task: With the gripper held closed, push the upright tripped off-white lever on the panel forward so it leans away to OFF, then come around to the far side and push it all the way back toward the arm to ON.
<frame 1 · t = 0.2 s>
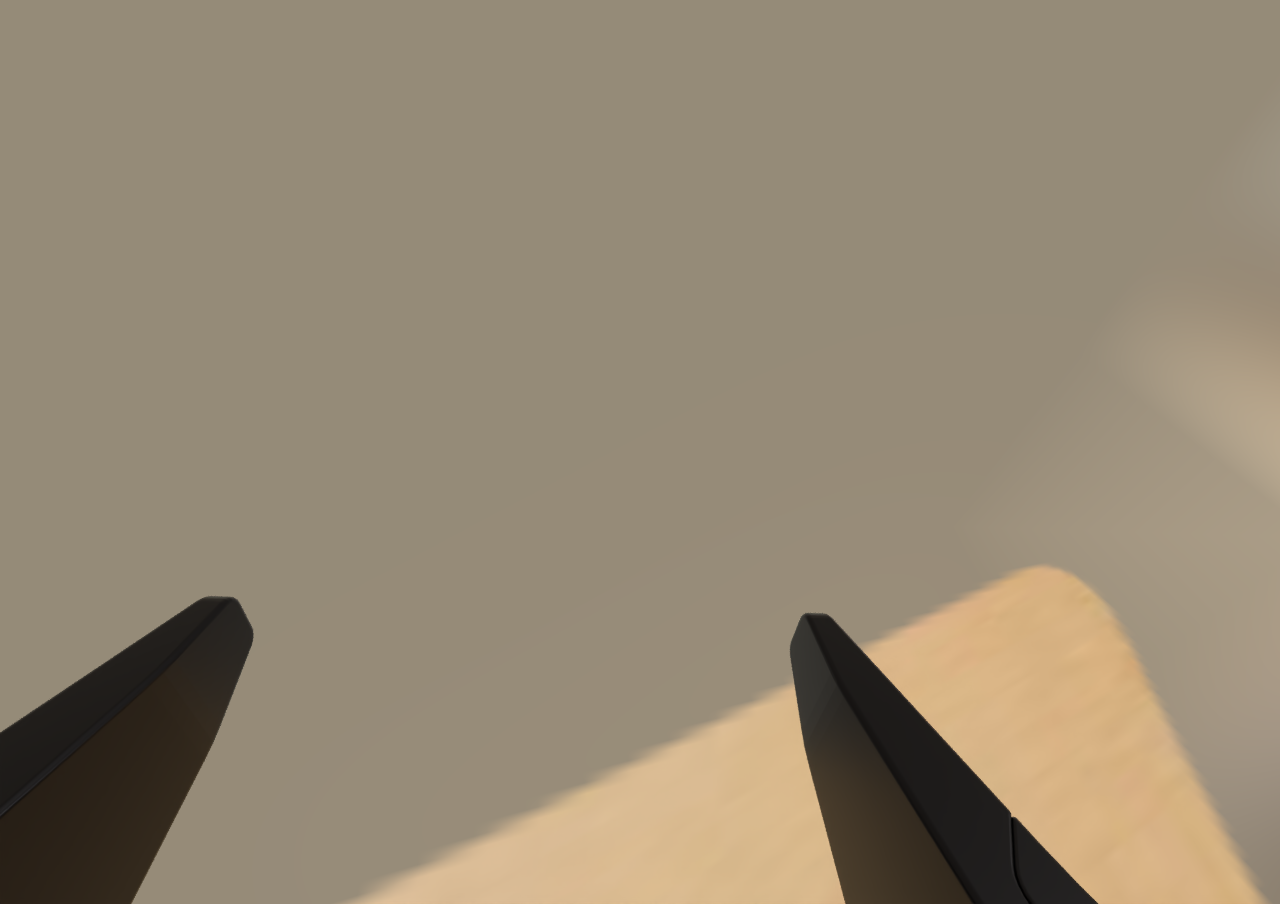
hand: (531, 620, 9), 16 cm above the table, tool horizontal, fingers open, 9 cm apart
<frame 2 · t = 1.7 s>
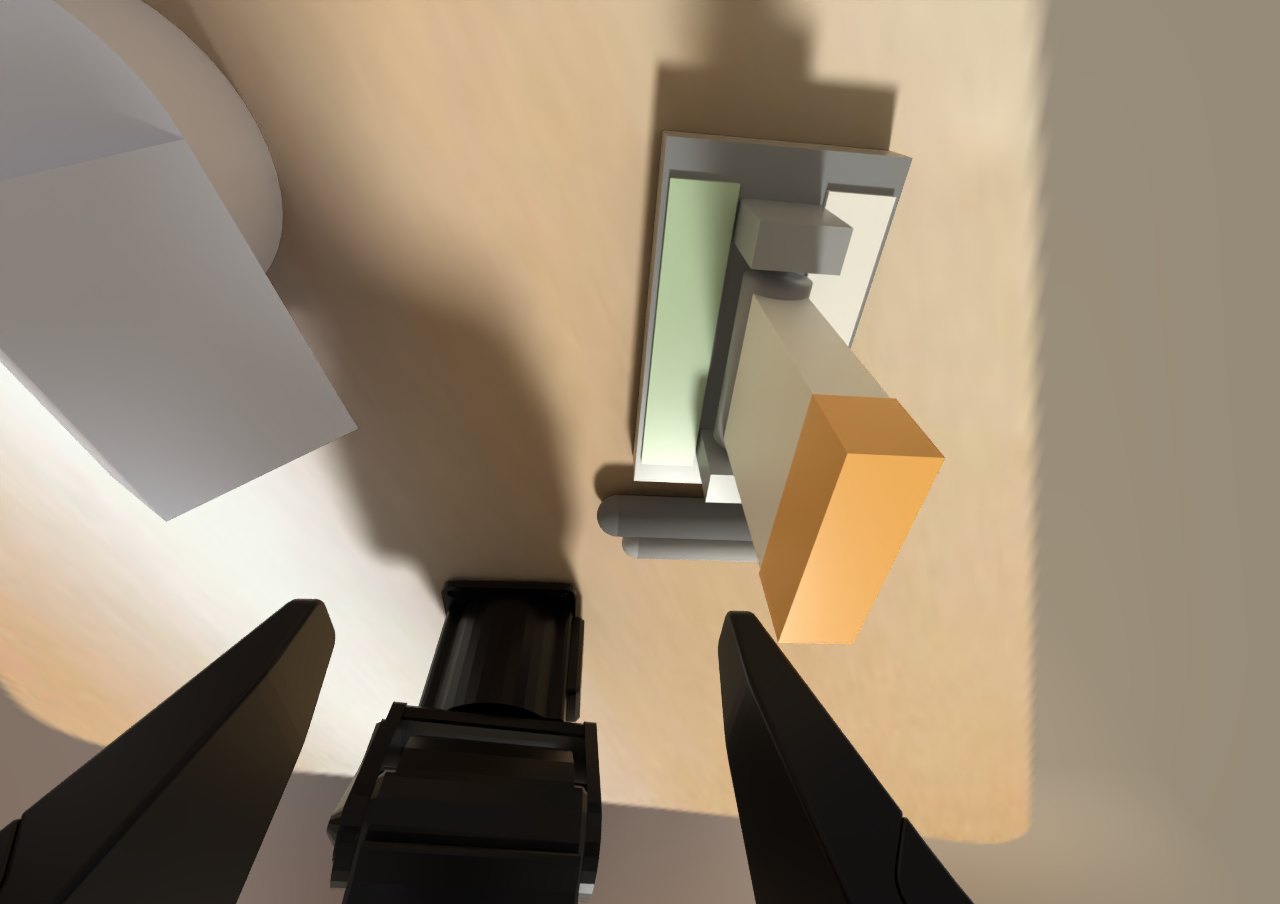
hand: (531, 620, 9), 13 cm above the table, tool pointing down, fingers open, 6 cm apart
lever: (788, 429, 15), point 7 cm above the table, hinge at 0.0°
panel: (740, 328, 20), on the table
grey double capsule: (723, 522, 26), on the table
wedge on round base: (170, 228, 18), on the table
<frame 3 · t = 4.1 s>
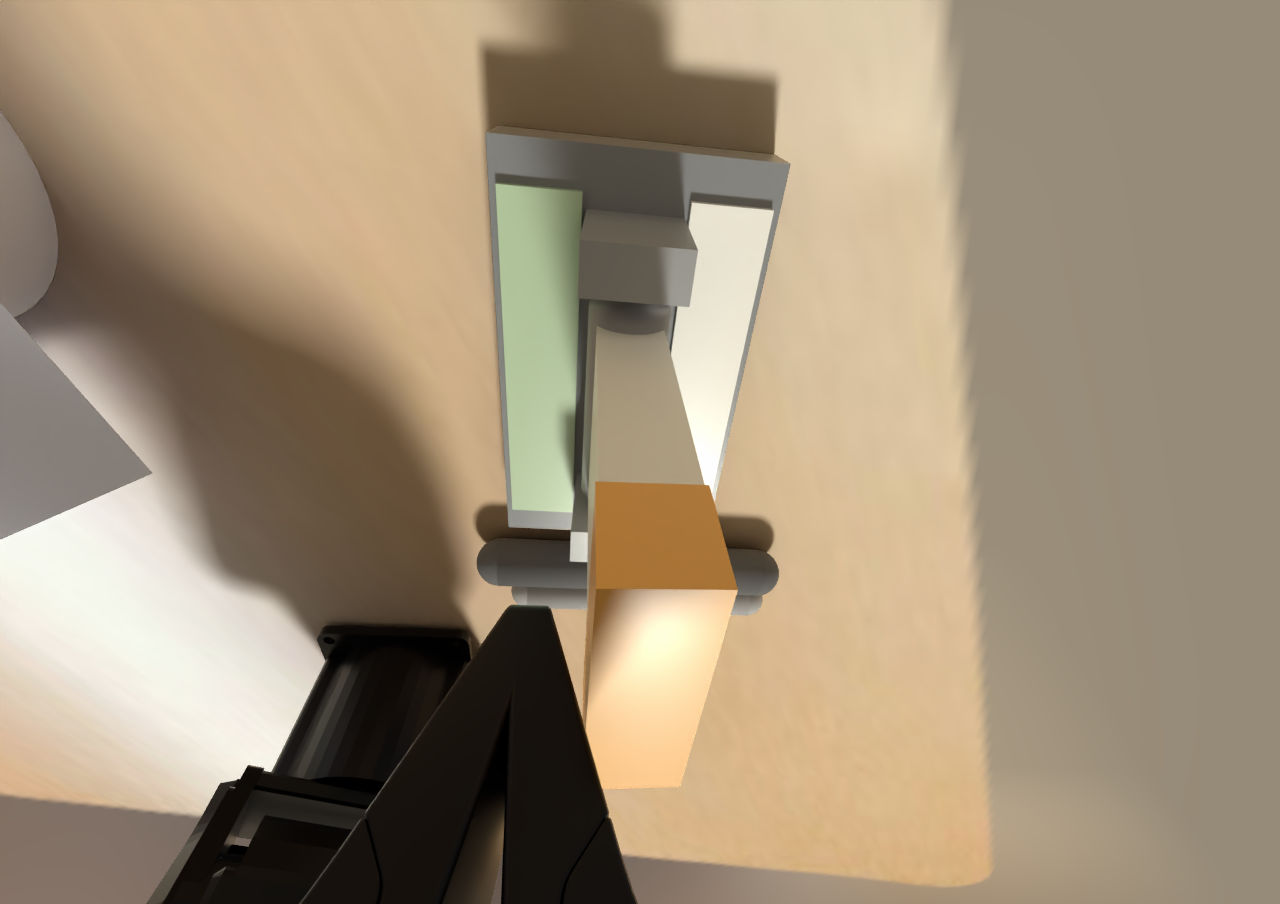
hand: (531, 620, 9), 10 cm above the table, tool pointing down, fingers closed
lever: (629, 495, 12), point 7 cm above the table, hinge at 2.2°, touching gripper
panel: (621, 357, 17), on the table
grey double capsule: (628, 567, 23), on the table
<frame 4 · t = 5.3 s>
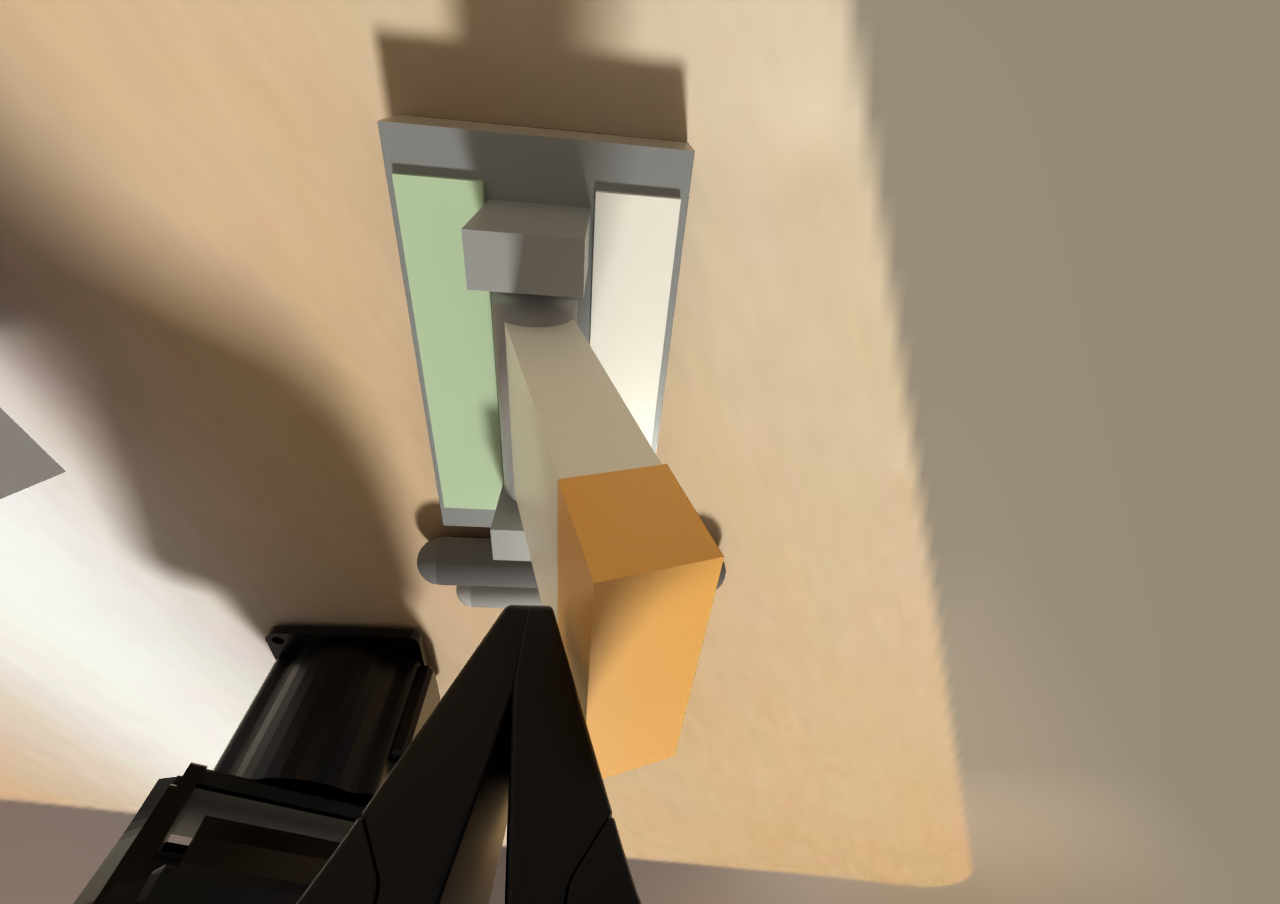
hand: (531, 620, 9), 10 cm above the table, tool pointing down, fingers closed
lever: (569, 489, 12), point 7 cm above the table, hinge at 17.4°, touching gripper
panel: (549, 352, 17), on the table
grey double capsule: (575, 565, 23), on the table
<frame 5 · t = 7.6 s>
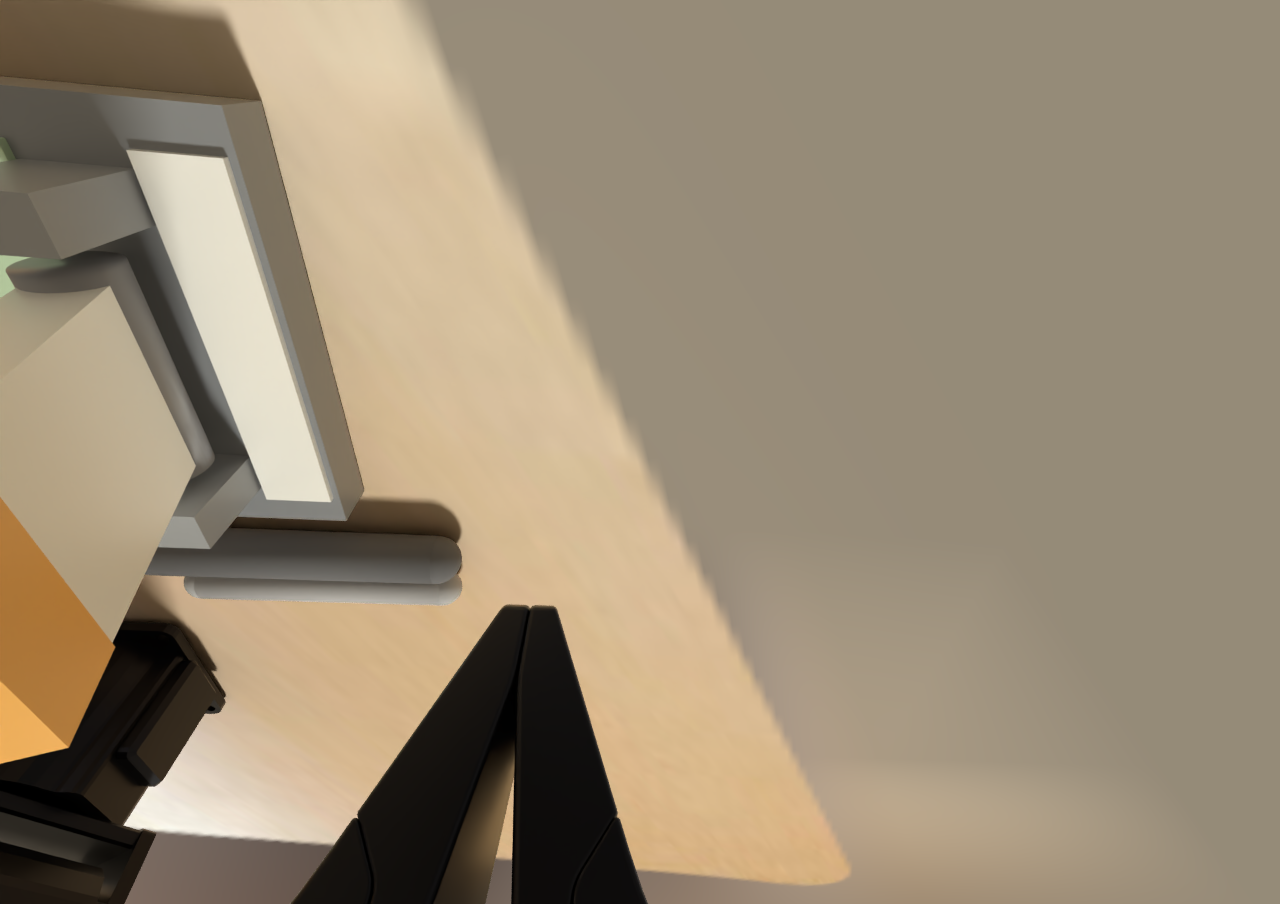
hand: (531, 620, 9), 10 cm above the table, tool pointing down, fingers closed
lever: (56, 464, 11), point 7 cm above the table, hinge at 17.5°
panel: (200, 328, 16), on the table
grey double capsule: (317, 556, 22), on the table
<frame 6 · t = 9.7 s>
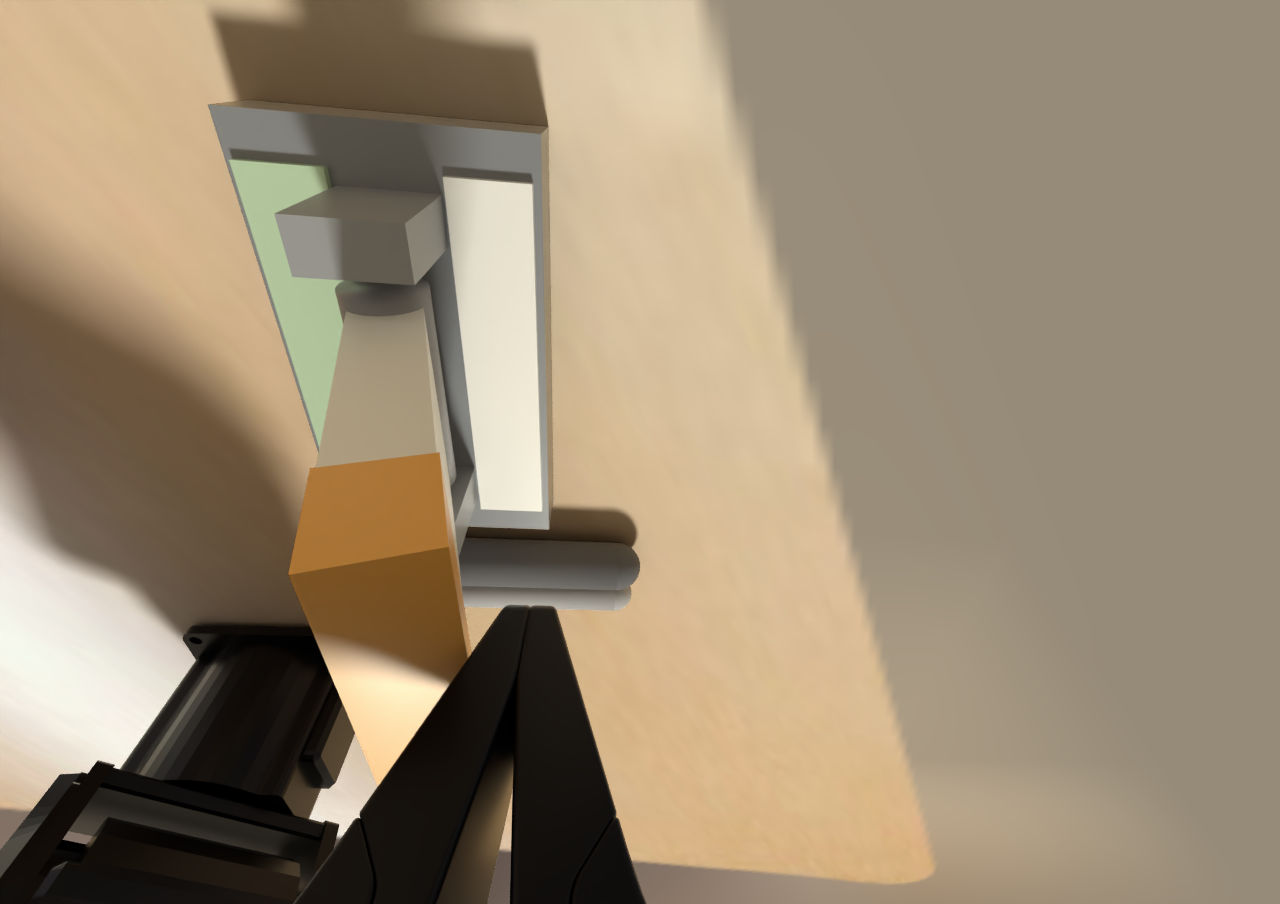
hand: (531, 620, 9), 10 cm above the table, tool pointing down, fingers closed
lever: (405, 481, 11), point 7 cm above the table, hinge at 17.4°, touching gripper
panel: (435, 344, 17), on the table
grey double capsule: (492, 562, 22), on the table
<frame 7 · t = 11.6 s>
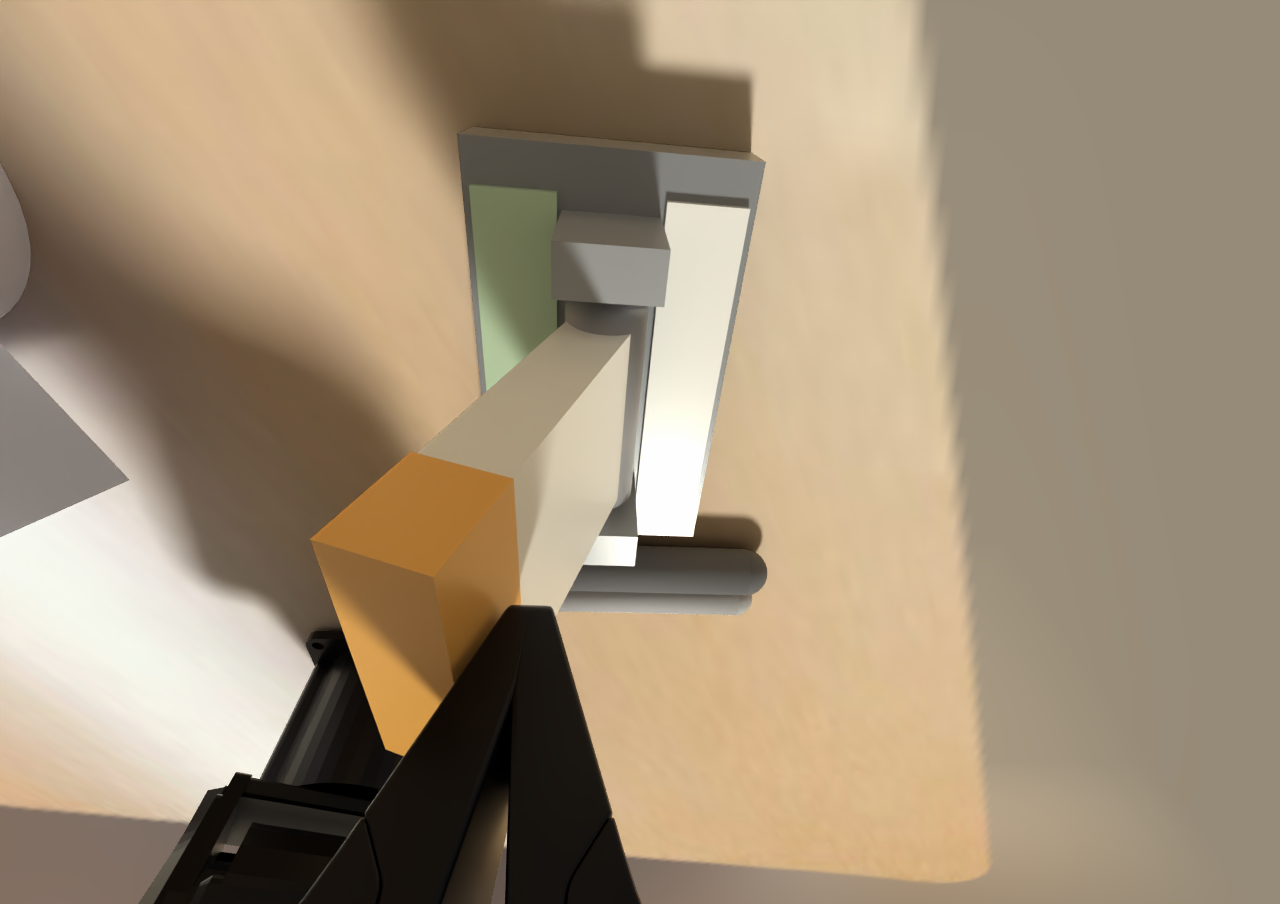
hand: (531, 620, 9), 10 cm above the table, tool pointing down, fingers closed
lever: (542, 489, 12), point 7 cm above the table, hinge at -18.9°, touching gripper
panel: (603, 358, 17), on the table
grey double capsule: (616, 568, 23), on the table
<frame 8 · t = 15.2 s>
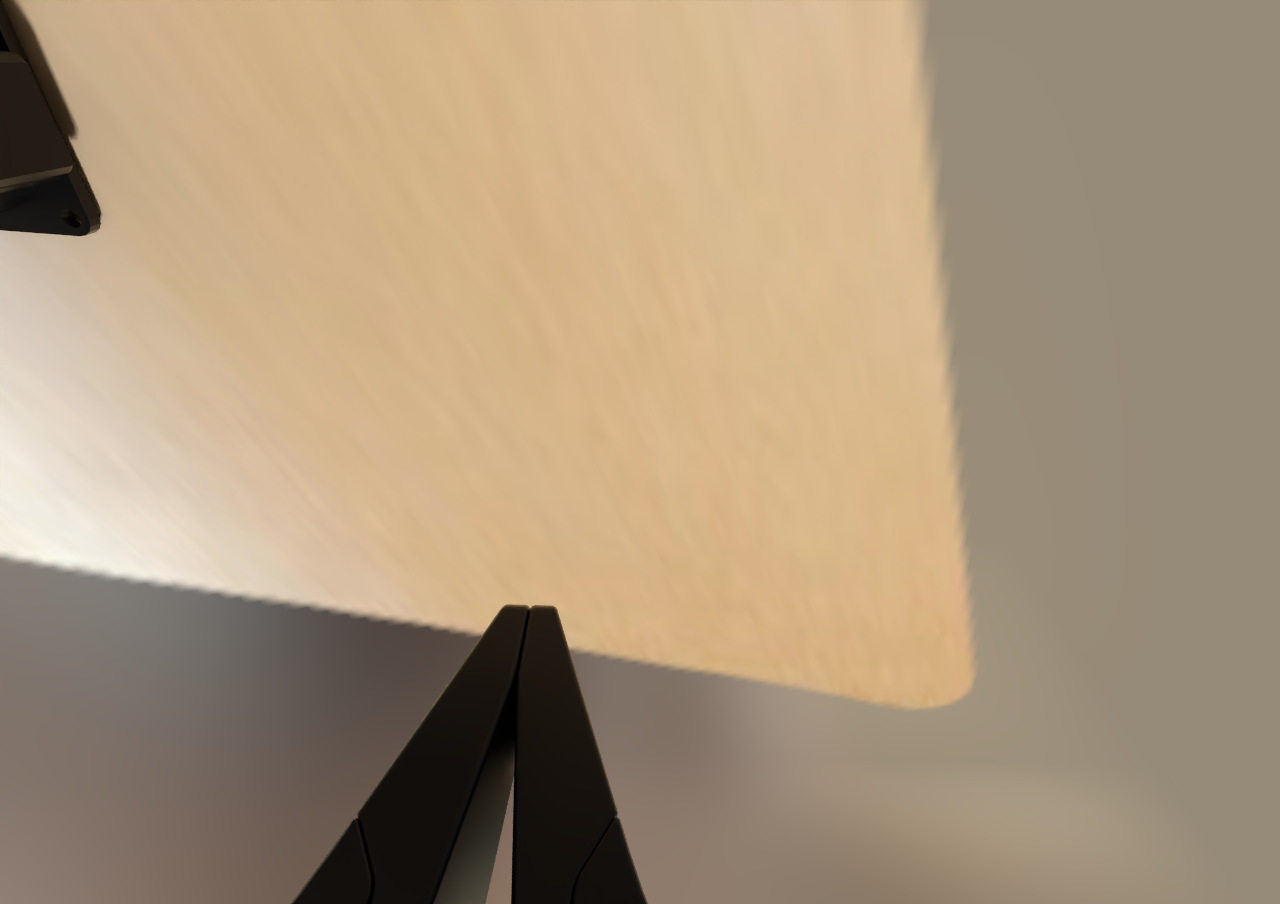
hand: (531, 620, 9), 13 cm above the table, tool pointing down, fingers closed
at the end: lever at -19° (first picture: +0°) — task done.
